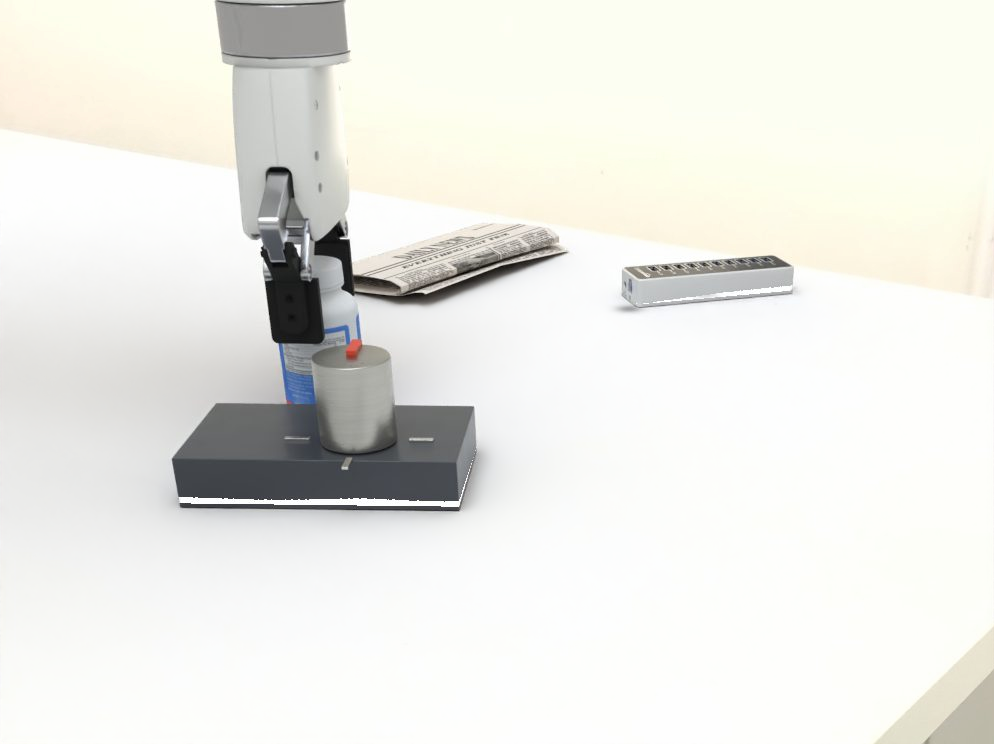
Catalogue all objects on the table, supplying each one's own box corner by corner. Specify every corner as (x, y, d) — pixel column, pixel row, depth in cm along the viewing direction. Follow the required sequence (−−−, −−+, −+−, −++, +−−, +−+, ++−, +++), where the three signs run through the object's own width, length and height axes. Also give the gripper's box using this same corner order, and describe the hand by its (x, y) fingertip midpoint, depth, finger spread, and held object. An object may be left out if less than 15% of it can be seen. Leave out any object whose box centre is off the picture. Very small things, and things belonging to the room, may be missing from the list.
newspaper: (420, 309, 110) (415, 278, 109) (317, 300, 117) (311, 271, 116) (581, 251, 127) (578, 224, 125) (482, 246, 133) (479, 220, 132)
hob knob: (391, 454, 75) (383, 363, 73) (313, 454, 75) (302, 363, 73) (402, 426, 79) (395, 339, 76) (328, 425, 79) (318, 338, 76)
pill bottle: (314, 389, 93) (297, 248, 88) (382, 398, 92) (369, 256, 87) (270, 415, 89) (250, 268, 84) (341, 426, 87) (325, 277, 82)
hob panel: (172, 517, 75) (163, 464, 73) (222, 447, 84) (215, 400, 82) (456, 520, 75) (453, 468, 73) (476, 450, 84) (474, 403, 82)
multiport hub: (793, 293, 116) (795, 266, 115) (637, 307, 112) (637, 280, 110) (772, 280, 119) (774, 254, 118) (620, 293, 115) (620, 266, 114)
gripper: (258, 19, 86) (289, 283, 95) (176, 50, 71) (222, 361, 80) (374, 20, 86) (394, 284, 95) (316, 52, 71) (347, 362, 80)
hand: (315, 319), depth 87 cm, fingers open, 9 cm apart
